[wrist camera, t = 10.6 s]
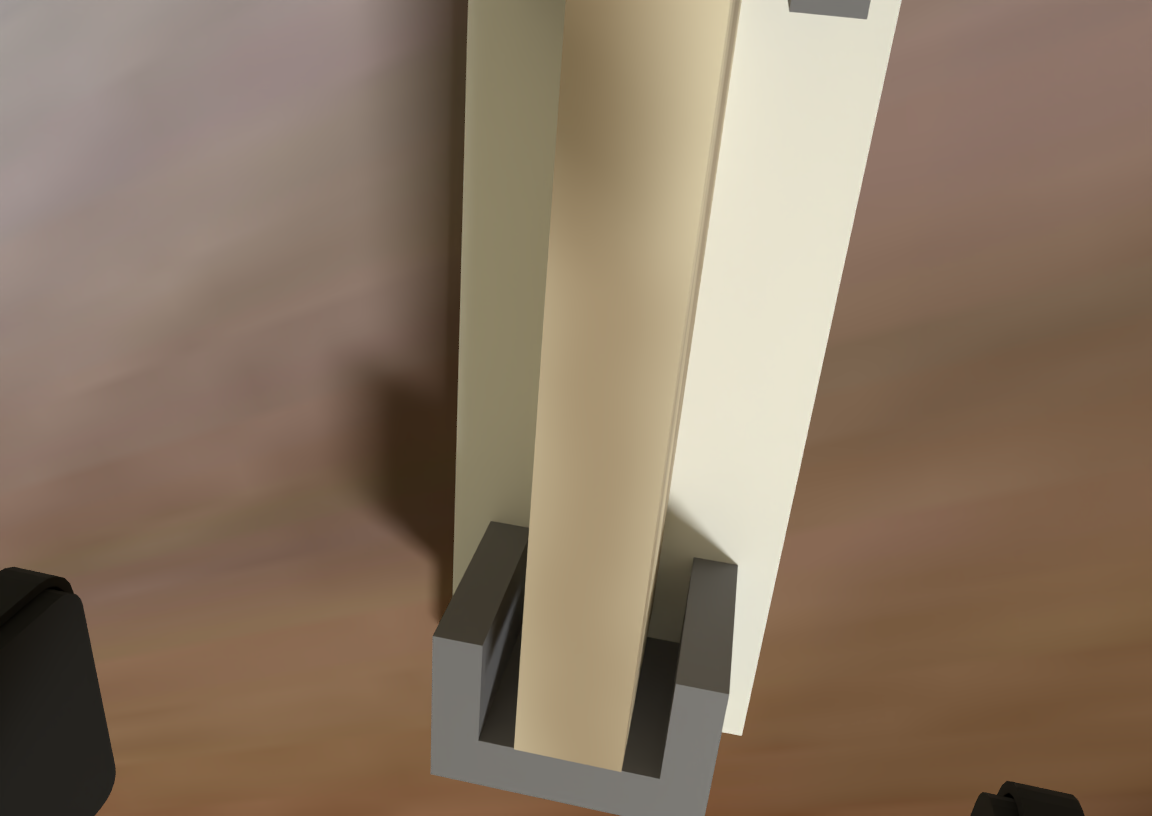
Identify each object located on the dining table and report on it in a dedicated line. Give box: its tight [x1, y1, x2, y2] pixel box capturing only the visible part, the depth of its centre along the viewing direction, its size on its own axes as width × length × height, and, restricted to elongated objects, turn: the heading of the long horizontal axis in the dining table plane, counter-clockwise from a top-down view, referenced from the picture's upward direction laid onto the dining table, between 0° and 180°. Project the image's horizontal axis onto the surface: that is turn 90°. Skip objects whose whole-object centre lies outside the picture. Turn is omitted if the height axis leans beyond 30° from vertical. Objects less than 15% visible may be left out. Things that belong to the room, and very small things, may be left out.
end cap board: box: [431, 0, 901, 816], centre depth 21 cm, size 9×26×6 cm, turn 175°
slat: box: [514, 0, 742, 772], centre depth 20 cm, size 2×18×6 cm, turn 175°
